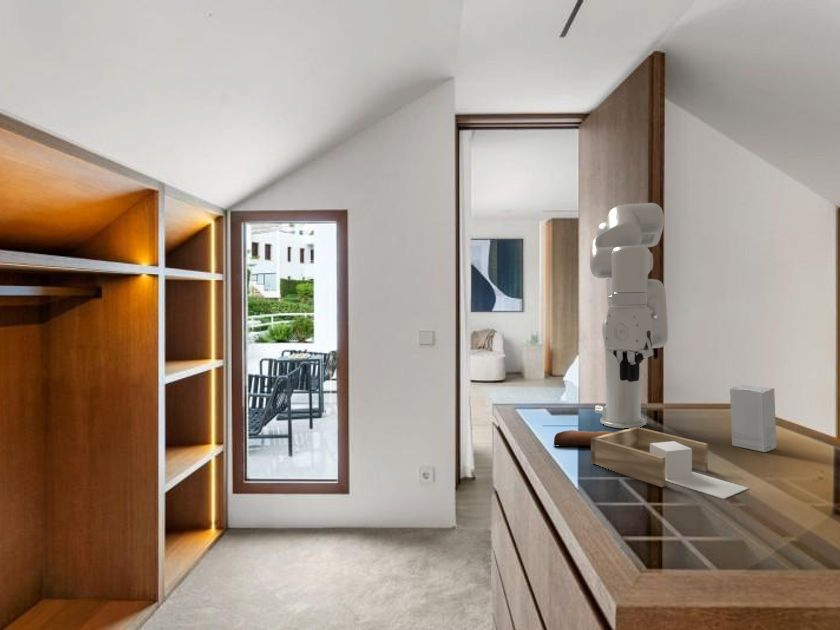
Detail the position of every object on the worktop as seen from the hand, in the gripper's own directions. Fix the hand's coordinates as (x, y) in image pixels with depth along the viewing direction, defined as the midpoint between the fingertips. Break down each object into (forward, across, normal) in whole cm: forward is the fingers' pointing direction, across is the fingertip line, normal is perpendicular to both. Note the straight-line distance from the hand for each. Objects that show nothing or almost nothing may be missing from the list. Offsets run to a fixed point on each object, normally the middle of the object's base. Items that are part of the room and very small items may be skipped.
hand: (629, 380), depth 132 cm
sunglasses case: (+20, -15, +3) cm, 25 cm away
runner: (+19, +12, 0) cm, 22 cm away
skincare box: (+19, +11, +32) cm, 39 cm away
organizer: (+19, +5, 0) cm, 20 cm away
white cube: (+19, +10, 0) cm, 22 cm away
